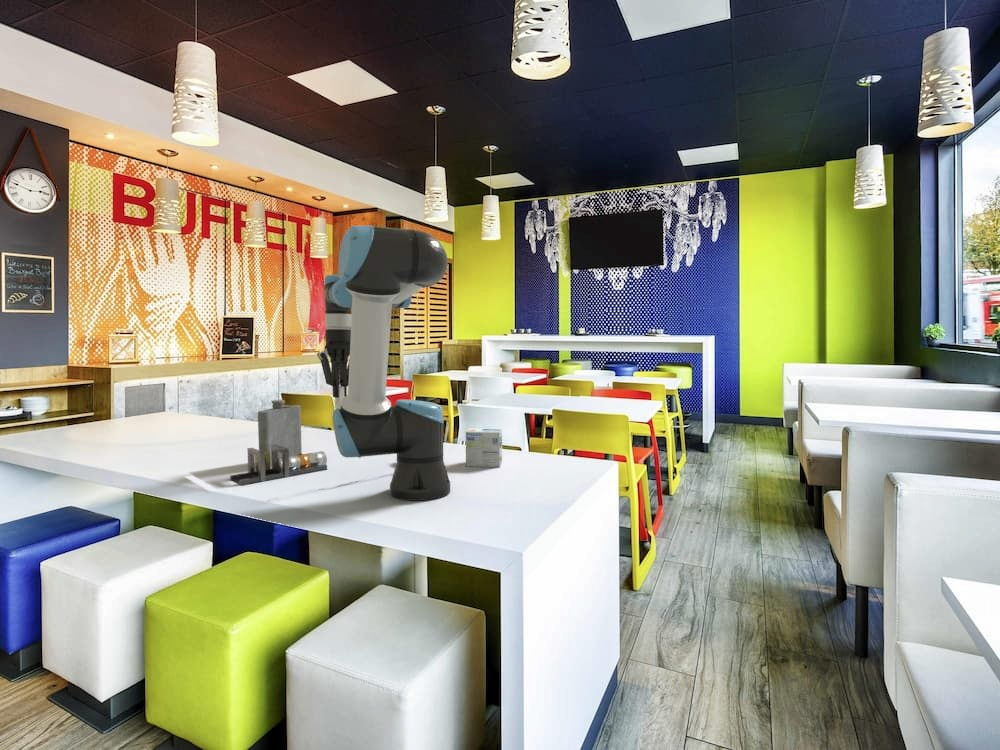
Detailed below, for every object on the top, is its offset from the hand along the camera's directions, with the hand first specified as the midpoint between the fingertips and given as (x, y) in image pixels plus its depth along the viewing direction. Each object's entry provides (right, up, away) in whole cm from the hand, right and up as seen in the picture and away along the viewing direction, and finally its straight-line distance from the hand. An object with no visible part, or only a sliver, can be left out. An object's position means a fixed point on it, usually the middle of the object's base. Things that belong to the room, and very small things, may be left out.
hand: (339, 408), depth 167 cm
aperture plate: (-18, -18, -11) cm, 28 cm away
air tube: (-8, -17, -7) cm, 20 cm away
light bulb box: (+43, -18, +5) cm, 46 cm away
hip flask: (-18, -18, +1) cm, 25 cm away
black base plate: (-13, -19, -12) cm, 26 cm away
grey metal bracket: (-15, -18, -14) cm, 27 cm away
